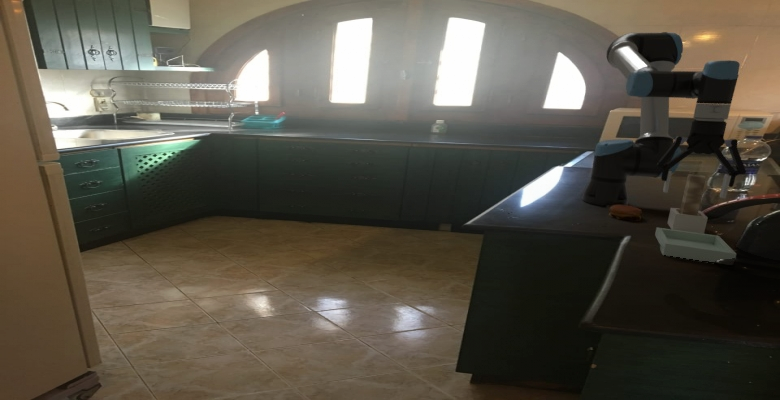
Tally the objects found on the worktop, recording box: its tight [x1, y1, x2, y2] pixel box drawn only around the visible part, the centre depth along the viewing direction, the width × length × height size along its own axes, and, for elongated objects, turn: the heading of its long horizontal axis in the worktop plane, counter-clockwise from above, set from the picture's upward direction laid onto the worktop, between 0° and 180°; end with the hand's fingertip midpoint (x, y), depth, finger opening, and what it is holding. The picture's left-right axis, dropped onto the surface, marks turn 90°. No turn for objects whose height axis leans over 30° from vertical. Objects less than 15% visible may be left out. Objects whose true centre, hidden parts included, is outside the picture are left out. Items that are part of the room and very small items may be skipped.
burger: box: [607, 205, 643, 222], centre depth 128 cm, size 10×9×5 cm
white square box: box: [667, 207, 708, 234], centre depth 117 cm, size 8×8×6 cm
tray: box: [654, 226, 737, 262], centre depth 102 cm, size 14×14×3 cm
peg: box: [679, 173, 707, 216], centre depth 115 cm, size 4×4×16 cm
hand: (693, 194), depth 114 cm, fingers open, 13 cm apart
